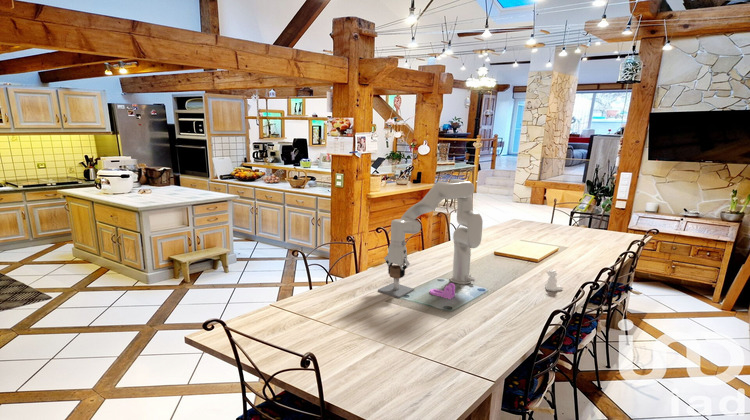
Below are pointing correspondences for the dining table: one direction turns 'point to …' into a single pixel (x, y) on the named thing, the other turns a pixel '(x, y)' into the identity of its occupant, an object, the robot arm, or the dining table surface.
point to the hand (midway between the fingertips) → (396, 274)
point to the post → (396, 289)
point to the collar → (395, 271)
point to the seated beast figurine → (552, 281)
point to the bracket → (445, 291)
